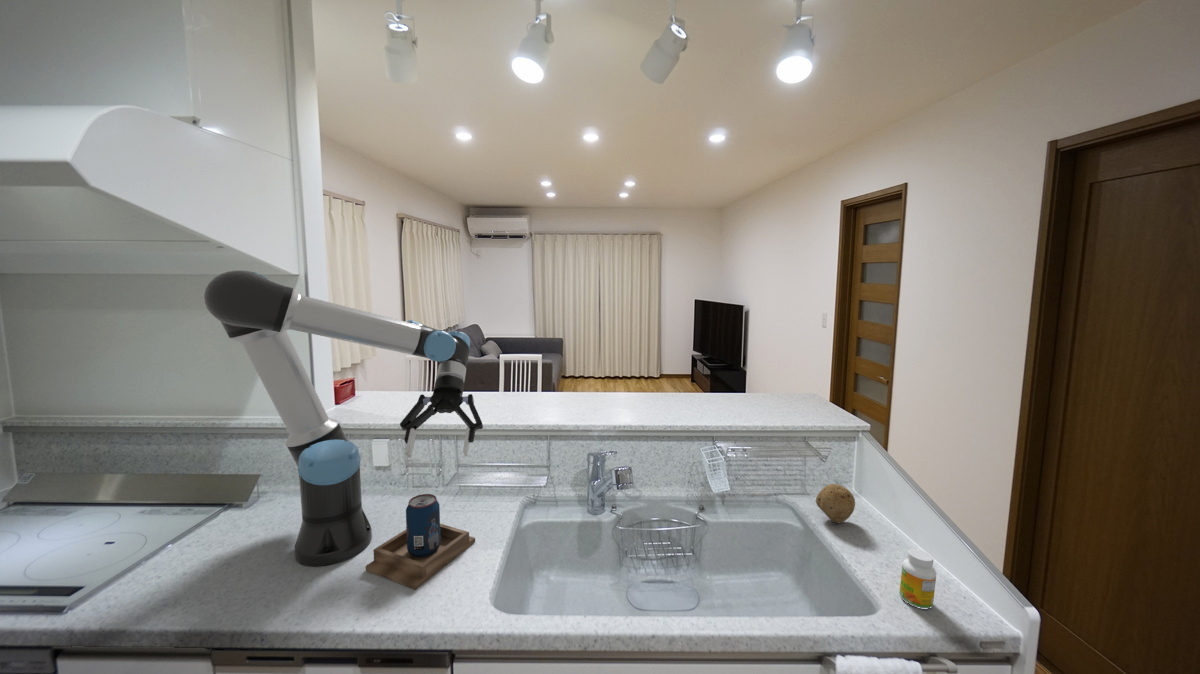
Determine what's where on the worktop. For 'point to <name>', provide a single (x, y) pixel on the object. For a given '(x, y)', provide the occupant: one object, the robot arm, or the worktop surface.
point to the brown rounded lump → (836, 502)
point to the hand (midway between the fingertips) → (436, 454)
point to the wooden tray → (414, 571)
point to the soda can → (423, 526)
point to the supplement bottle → (918, 579)
